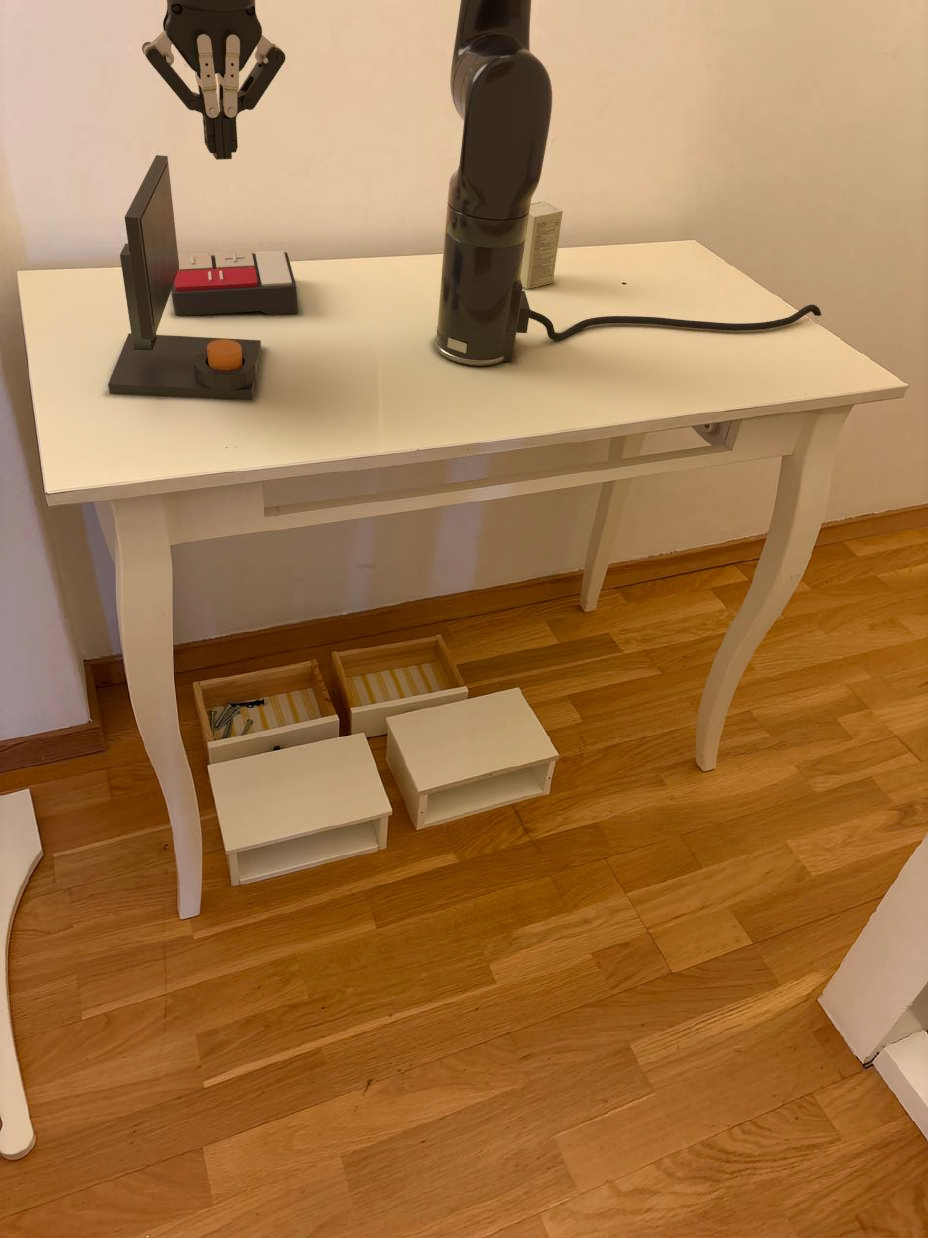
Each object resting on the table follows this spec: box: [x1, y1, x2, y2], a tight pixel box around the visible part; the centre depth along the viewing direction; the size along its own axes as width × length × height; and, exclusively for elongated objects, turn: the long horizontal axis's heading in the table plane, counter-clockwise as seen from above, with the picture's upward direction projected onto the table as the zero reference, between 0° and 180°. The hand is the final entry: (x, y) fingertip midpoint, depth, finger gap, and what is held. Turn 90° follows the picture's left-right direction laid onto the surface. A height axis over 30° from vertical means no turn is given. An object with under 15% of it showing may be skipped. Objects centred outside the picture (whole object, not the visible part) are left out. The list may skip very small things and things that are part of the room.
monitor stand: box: [119, 243, 158, 350], centre depth 101 cm, size 2×3×10 cm, turn 5°
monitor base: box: [107, 332, 262, 401], centre depth 106 cm, size 15×12×3 cm
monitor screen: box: [124, 154, 179, 340], centre depth 98 cm, size 2×18×12 cm, turn 4°
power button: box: [207, 338, 242, 371], centre depth 103 cm, size 4×4×2 cm
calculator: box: [170, 250, 299, 317], centre depth 121 cm, size 11×4×15 cm
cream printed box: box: [520, 200, 563, 290], centre depth 132 cm, size 5×4×10 cm
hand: (222, 156), depth 92 cm, fingers closed
